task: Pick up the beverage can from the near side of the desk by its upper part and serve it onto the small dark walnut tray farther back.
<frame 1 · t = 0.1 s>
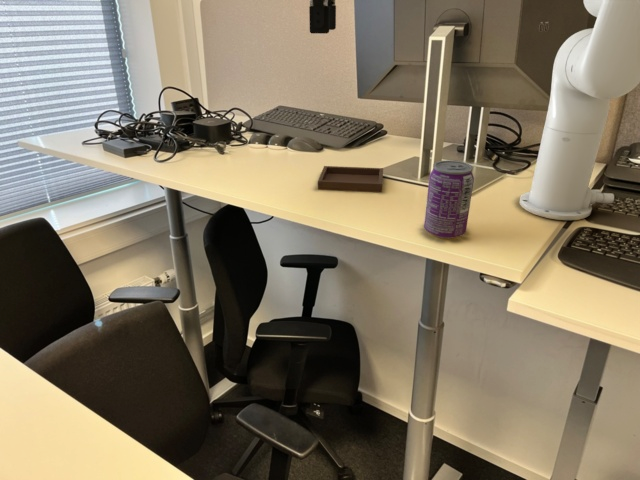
hand: (323, 31, 82), 31 cm above the table, tool pointing down, fingers open, 9 cm apart
beverage can: (444, 233, 81), on the table
tray: (351, 182, 103), on the table
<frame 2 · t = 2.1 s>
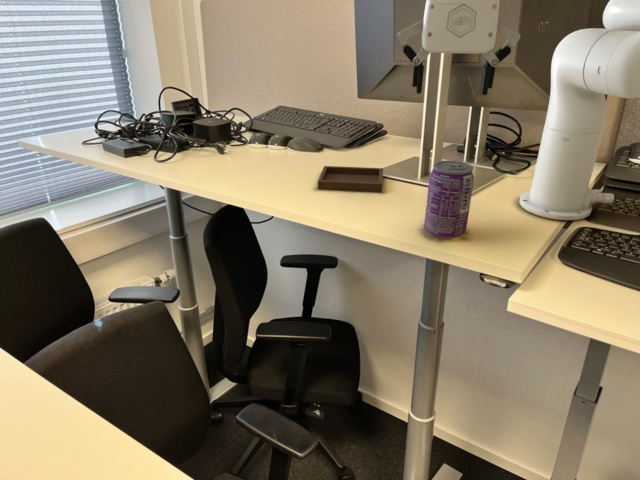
hand: (450, 92, 71), 23 cm above the table, tool pointing down, fingers open, 9 cm apart
nothing on the table moved.
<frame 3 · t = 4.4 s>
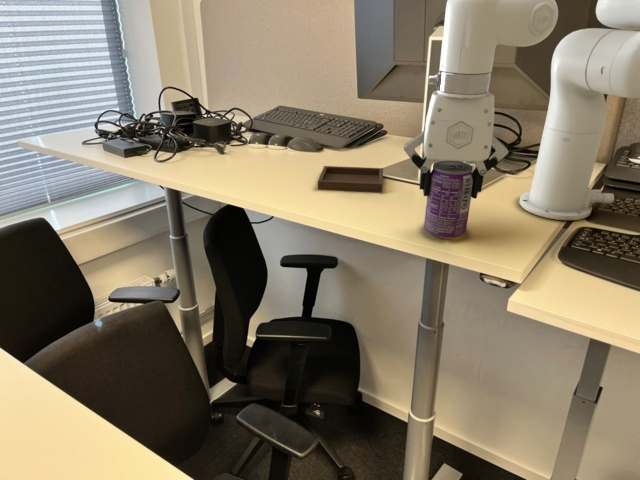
hand: (449, 193, 78), 7 cm above the table, tool pointing down, fingers closed on beverage can, 7 cm apart
beverage can: (444, 233, 81), on the table, touching gripper
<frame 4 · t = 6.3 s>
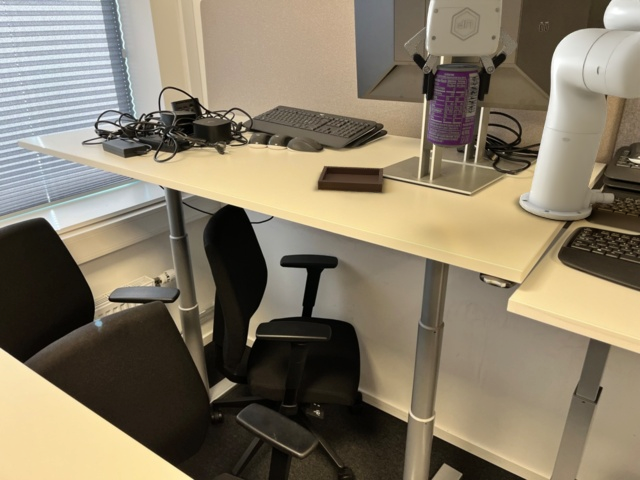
hand: (453, 98, 72), 22 cm above the table, tool pointing down, fingers closed on beverage can, 7 cm apart
beverage can: (448, 145, 76), point 15 cm above the table, touching gripper
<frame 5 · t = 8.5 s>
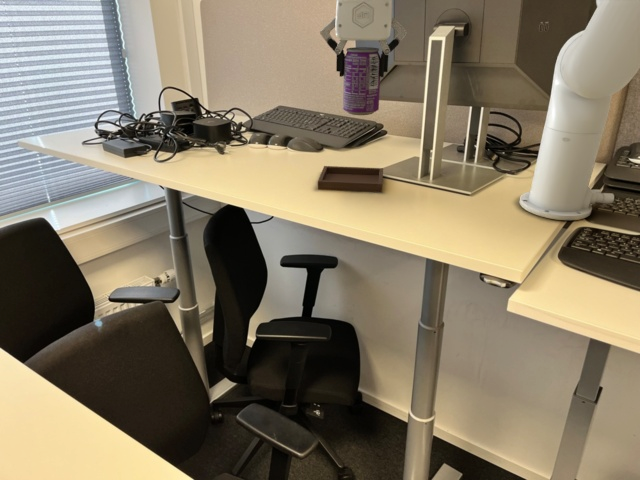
hand: (361, 75, 91), 23 cm above the table, tool pointing down, fingers closed on beverage can, 7 cm apart
beverage can: (360, 113, 94), point 16 cm above the table, touching gripper
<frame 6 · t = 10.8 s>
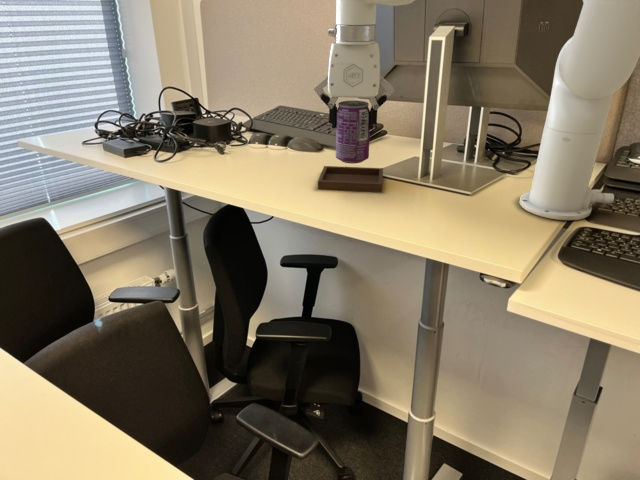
hand: (352, 126, 98), 12 cm above the table, tool pointing down, fingers closed on beverage can, 7 cm apart
beverage can: (352, 160, 101), point 5 cm above the table, touching gripper
when the fingers open (8 cm above the table, at t = 12.6 s): beverage can stays where it is, resting on tray.
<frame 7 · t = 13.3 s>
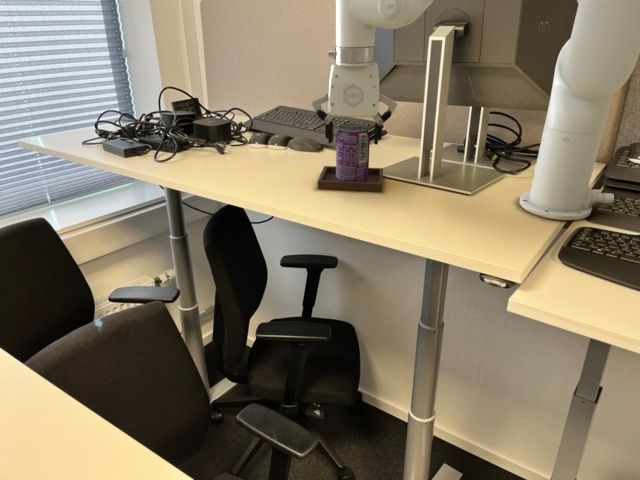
hand: (353, 142, 99), 9 cm above the table, tool pointing down, fingers open, 9 cm apart
beverage can: (351, 181, 103), resting on tray
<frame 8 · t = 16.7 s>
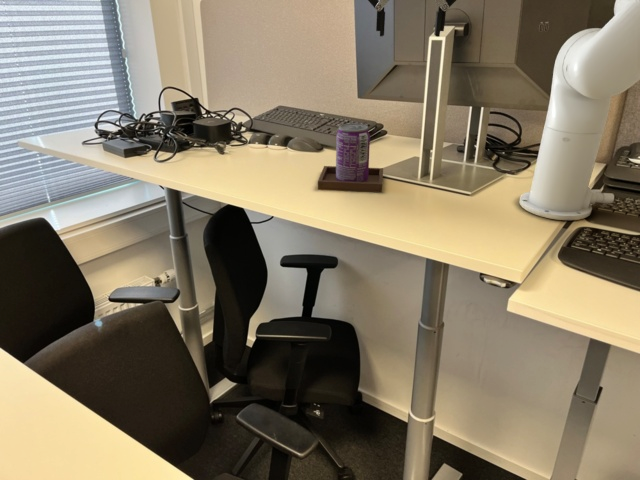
hand: (409, 35, 83), 30 cm above the table, tool pointing down, fingers open, 9 cm apart
nothing on the table moved.
at the end: beverage can 0.1 cm off-centre in the tray, point 0.2 cm above the tray's base; beverage can tilted 0°; the gripper is holding nothing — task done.
